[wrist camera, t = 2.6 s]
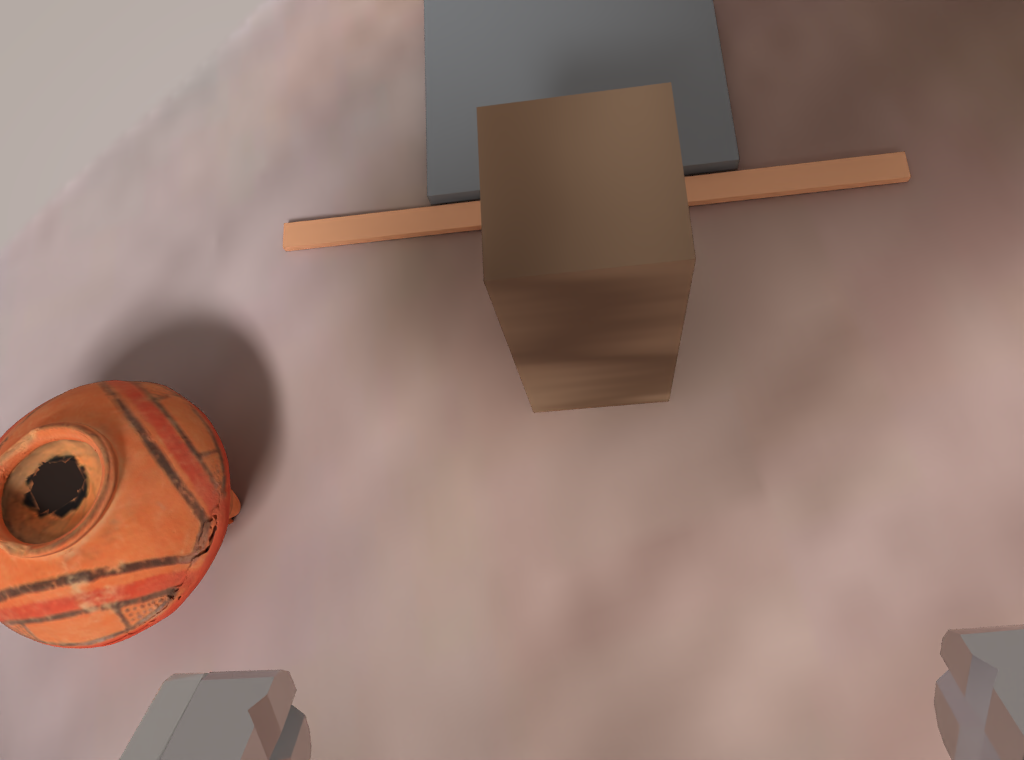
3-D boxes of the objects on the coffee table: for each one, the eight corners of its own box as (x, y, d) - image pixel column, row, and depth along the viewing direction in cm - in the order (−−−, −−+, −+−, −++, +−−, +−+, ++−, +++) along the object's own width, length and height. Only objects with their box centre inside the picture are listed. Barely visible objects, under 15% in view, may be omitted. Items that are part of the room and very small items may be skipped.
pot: (-9, 514, 27) (-145, 433, 21) (203, 400, 30) (135, 299, 24) (79, 721, 24) (-50, 695, 18) (307, 577, 27) (259, 511, 21)
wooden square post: (654, 278, 27) (671, 82, 18) (668, 401, 26) (695, 258, 16) (526, 291, 28) (476, 107, 18) (533, 412, 26) (483, 281, 17)
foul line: (901, 156, 27) (904, 151, 27) (907, 181, 27) (910, 176, 27) (287, 227, 30) (283, 223, 29) (286, 251, 29) (282, 247, 29)
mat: (696, -79, 32) (697, -92, 31) (737, 169, 28) (739, 159, 27) (426, -38, 33) (423, -50, 32) (431, 204, 29) (427, 196, 29)
